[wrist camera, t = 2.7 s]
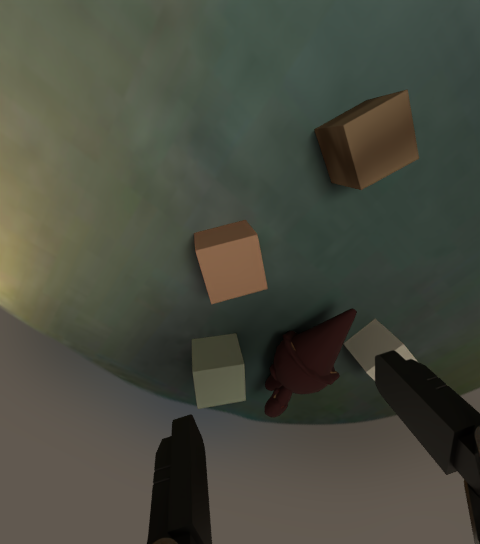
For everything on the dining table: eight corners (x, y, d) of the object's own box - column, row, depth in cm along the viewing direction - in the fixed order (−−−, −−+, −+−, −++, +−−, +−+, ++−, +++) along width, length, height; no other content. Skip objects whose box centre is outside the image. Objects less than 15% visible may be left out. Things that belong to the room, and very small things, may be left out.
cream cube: (342, 343, 35) (366, 372, 30) (374, 318, 34) (403, 343, 30) (361, 362, 37) (386, 392, 32) (392, 339, 36) (421, 366, 32)
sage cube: (191, 338, 31) (192, 371, 26) (236, 332, 31) (244, 364, 27) (196, 372, 33) (197, 408, 28) (237, 366, 33) (245, 400, 29)
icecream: (335, 305, 24) (238, 407, 29) (398, 350, 25) (294, 441, 30) (320, 277, 31) (243, 364, 35) (370, 313, 31) (288, 393, 36)
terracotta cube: (193, 232, 26) (195, 250, 21) (245, 219, 26) (257, 234, 22) (207, 279, 28) (211, 304, 23) (254, 266, 28) (267, 288, 24)
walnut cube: (313, 129, 24) (343, 125, 19) (365, 100, 24) (407, 89, 19) (331, 182, 26) (361, 189, 22) (378, 156, 26) (418, 158, 21)
